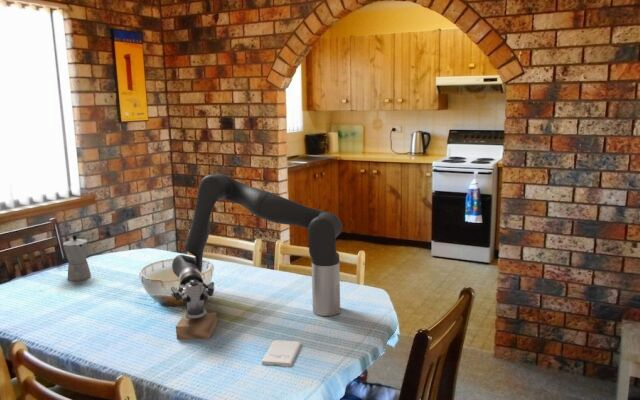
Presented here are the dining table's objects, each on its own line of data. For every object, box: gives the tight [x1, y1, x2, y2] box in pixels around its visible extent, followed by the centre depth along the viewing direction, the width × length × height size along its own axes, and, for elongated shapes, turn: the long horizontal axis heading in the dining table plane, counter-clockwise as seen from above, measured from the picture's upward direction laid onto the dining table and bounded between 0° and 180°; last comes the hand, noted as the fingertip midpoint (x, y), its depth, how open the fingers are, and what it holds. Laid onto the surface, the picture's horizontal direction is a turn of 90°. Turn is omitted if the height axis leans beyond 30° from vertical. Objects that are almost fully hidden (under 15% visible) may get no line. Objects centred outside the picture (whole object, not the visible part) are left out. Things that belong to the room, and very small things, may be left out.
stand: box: [175, 312, 218, 340], centre depth 164 cm, size 10×10×4 cm
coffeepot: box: [62, 234, 92, 282], centre depth 215 cm, size 15×9×18 cm, turn 44°
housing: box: [184, 280, 208, 319], centre depth 163 cm, size 6×6×11 cm
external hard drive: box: [261, 339, 302, 367], centre depth 149 cm, size 2×8×12 cm
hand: (195, 299), depth 160 cm, fingers closed on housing, 5 cm apart
